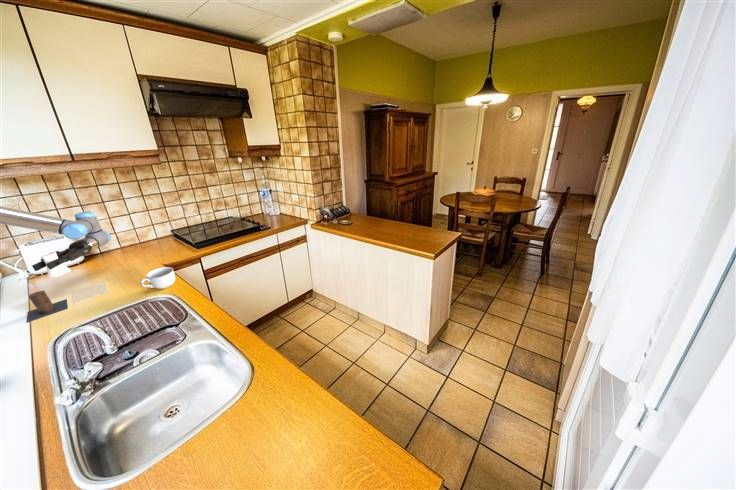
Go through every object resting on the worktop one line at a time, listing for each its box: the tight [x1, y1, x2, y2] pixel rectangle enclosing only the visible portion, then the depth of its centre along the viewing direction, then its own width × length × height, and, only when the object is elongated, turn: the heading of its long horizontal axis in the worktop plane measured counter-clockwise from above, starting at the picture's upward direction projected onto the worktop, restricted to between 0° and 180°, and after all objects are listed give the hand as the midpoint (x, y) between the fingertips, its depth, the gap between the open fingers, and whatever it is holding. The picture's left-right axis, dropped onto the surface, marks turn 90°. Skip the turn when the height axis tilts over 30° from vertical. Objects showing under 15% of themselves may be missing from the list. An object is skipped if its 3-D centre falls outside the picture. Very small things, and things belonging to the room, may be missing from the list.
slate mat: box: [25, 298, 69, 324], centre depth 116 cm, size 12×12×1 cm
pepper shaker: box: [27, 290, 55, 314], centre depth 114 cm, size 5×5×9 cm
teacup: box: [140, 266, 177, 290], centre depth 129 cm, size 14×11×8 cm
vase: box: [39, 251, 72, 278], centre depth 121 cm, size 8×8×10 cm
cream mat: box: [71, 281, 110, 305], centre depth 129 cm, size 16×12×1 cm
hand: (41, 267), depth 116 cm, fingers closed on vase, 5 cm apart
